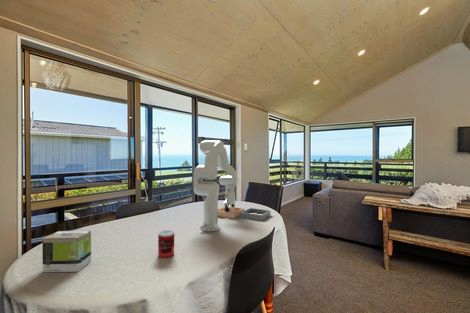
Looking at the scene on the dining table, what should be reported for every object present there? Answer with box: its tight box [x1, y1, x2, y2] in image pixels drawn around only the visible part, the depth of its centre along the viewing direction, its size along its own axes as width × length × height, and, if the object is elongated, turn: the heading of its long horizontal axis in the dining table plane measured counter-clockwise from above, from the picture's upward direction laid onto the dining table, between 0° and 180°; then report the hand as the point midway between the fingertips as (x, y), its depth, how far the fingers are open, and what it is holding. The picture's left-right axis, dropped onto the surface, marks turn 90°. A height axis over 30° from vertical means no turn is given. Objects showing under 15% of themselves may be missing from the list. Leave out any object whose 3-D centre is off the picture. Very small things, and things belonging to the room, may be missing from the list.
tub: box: [218, 206, 246, 219], centre depth 191 cm, size 18×18×5 cm
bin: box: [239, 207, 271, 222], centre depth 185 cm, size 18×18×5 cm
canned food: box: [157, 229, 175, 259], centre depth 116 cm, size 8×8×11 cm
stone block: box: [228, 205, 236, 213], centre depth 191 cm, size 6×6×6 cm
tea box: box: [42, 230, 92, 273], centre depth 103 cm, size 15×10×15 cm, turn 92°
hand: (229, 211), depth 191 cm, fingers open, 9 cm apart
